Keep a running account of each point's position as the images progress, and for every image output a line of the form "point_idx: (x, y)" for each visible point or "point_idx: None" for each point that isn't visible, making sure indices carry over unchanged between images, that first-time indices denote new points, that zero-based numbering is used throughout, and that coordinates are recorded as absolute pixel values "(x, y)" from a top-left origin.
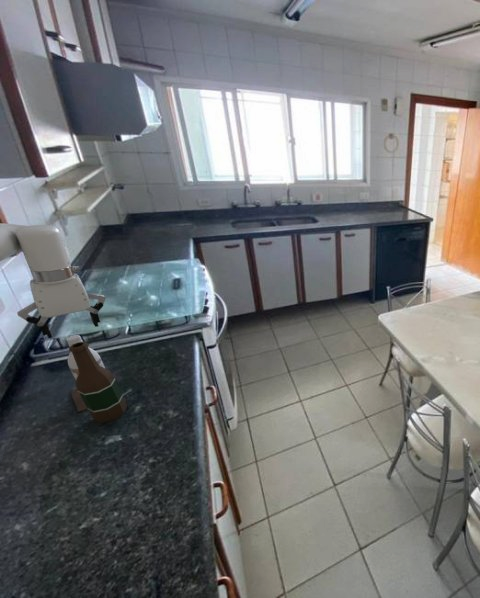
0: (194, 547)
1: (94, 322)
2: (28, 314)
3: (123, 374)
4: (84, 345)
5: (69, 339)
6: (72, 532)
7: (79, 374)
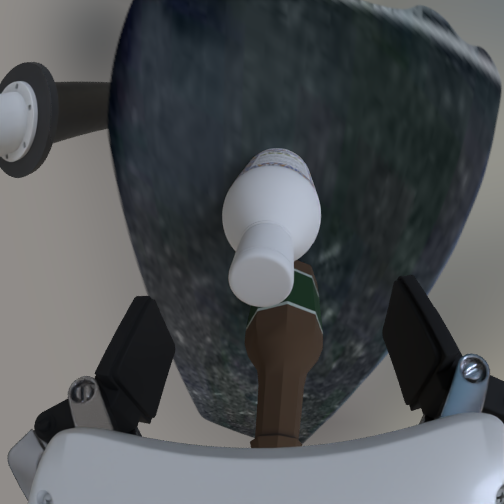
0: (299, 440)
1: (393, 358)
2: (42, 452)
3: (341, 163)
4: None
5: (243, 295)
6: (234, 412)
7: (257, 370)
